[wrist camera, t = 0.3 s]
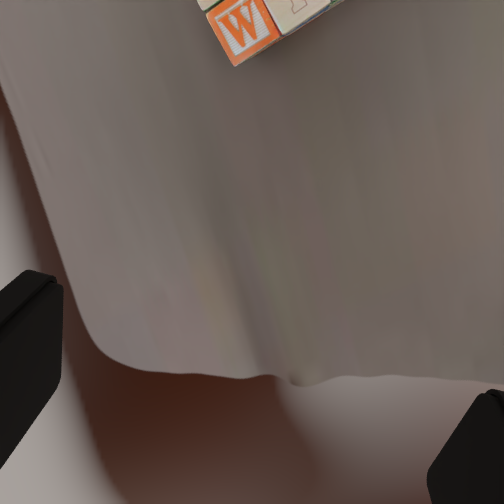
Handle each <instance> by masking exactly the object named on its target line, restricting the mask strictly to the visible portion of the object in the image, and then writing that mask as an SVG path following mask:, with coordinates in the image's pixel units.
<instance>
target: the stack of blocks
mask: <svg viewBox="0 0 504 504" xmlns="http://www.w3.org/2000/svg"><path fill="white" fill-rule="evenodd" d="M343 1H344V0H197V2H198V4H199V6H200V8H201V9H202V11H204V12H206V17H207V19H208V21H209V23H210V25H211V27H212V29H213V30H214V32H215V34H216V36H217V38H218V40H219V41H220V43H221V45H222V47H223V48H224V50H225V52H226V54H227V56H228V57H229V59H230V61H231V63H232V64H233V66H237V65H239V64H240V63H243V62H245V61H247V60H249V59H250V58H251V57H252V58H253V57H255V56H256V55H258V54H259V53H261V52H262V51H264V50H266V49H267V48H269V47H270V46H272V45H273V44H275V43H277V42H278V41H280V40H281V39H283V38H284V37H286V36H289V35H291V34H292V33H294V32H295V31H297V30H298V29H300V28H302V27H303V26H305V25H306V24H308V23H309V22H311V21H312V20H314V19H316V18H317V17H319V16H320V15H322V14H323V13H325V12H327V11H328V10H330V9H332V8H333V7H335V6H336V5H338V4H340V3H341V2H343Z"/></svg>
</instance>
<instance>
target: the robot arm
mask: <svg viewBox="0 0 504 504" xmlns="http://www.w3.org/2000/svg"><path fill="white" fill-rule="evenodd" d="M63 292H64V291H63V286H62V285H60V284H57V280H56V277H54V276H52V275H48V274H44V273H40V272H36V271H33V270H25V271H24V272H22V273H21V274H20V275H19V276H17V277H16V278H15V279H14V280H13V281H11V282H10V283H9V284H8V285H7V286H5V287H4V288H3V289H2V290H1V291H0V469H1V468H2V466H3V465H4V464H5V462H6V461H7V459H8V458H9V456H10V455H11V454H12V452H13V451H14V449H15V448H16V446H17V445H18V444H19V442H20V441H21V439H22V438H23V436H24V435H25V434H26V432H27V431H28V429H29V428H30V426H31V425H32V424H33V422H34V420H35V419H36V418H37V416H38V415H39V414H40V412H41V411H42V409H43V408H44V406H45V405H46V403H47V402H48V401H49V399H50V398H51V396H52V395H53V393H54V392H55V390H56V389H57V386H58V384H59V382H60V378H61V363H62V362H61V361H62V360H61V359H62V328H63V327H62V326H63ZM427 487H428V490H429V494H430V498H431V501H432V504H504V391H500V390H495V389H490V390H488V391H487V392H486V393H485V394H484V393H481V394H479V395H478V396H477V397H476V399H475V400H474V402H473V403H472V405H471V406H470V408H469V409H468V411H467V412H466V414H465V415H464V417H463V418H462V420H461V421H460V423H459V424H458V426H457V427H456V429H455V430H454V432H453V433H452V435H451V436H450V438H449V439H448V441H447V442H446V444H445V445H444V447H443V448H442V450H441V451H440V453H439V454H438V456H437V457H436V459H435V460H434V462H433V463H432V465H431V466H430V468H429V470H428V473H427Z"/></svg>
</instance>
